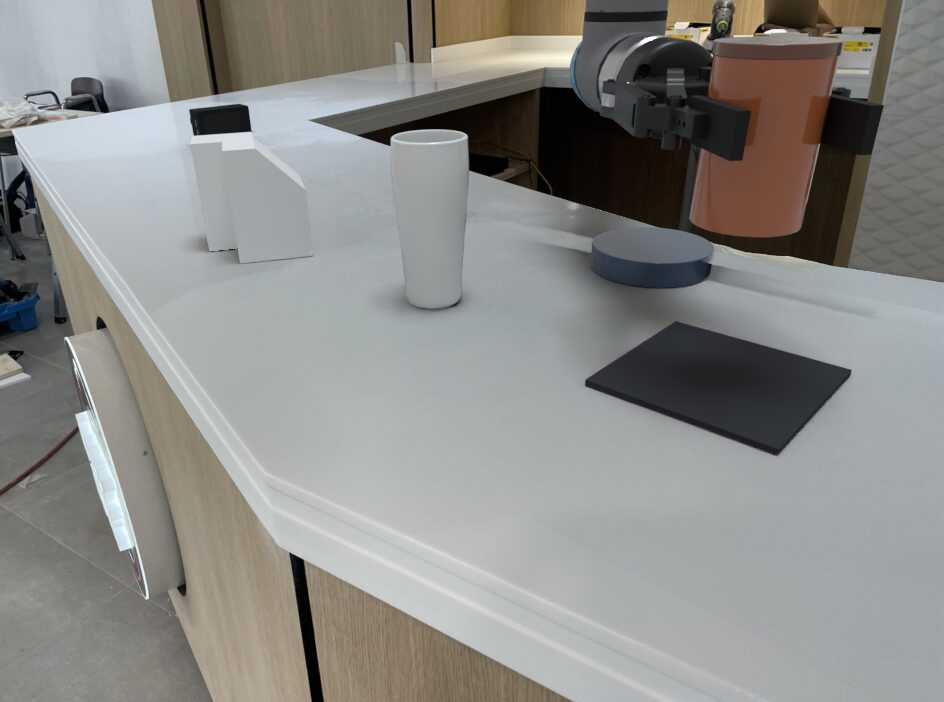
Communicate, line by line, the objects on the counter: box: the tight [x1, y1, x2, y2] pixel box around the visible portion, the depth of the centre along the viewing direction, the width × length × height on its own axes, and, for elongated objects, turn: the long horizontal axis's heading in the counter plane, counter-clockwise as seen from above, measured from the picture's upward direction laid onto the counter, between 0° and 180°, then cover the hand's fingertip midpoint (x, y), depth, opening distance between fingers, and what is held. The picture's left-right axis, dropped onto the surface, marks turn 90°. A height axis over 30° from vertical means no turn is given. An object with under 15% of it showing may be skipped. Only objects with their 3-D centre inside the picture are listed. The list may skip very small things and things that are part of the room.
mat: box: [584, 320, 852, 456], centre depth 54 cm, size 14×14×1 cm
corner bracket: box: [189, 131, 314, 264], centre depth 82 cm, size 11×11×12 cm
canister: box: [688, 35, 846, 238], centre depth 46 cm, size 7×7×11 cm
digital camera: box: [188, 103, 253, 136], centre depth 142 cm, size 10×5×7 cm, turn 126°
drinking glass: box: [390, 129, 470, 310], centre depth 66 cm, size 7×7×15 cm
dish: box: [590, 226, 715, 289], centre depth 75 cm, size 12×12×2 cm
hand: (806, 133), depth 41 cm, fingers closed on canister, 7 cm apart
